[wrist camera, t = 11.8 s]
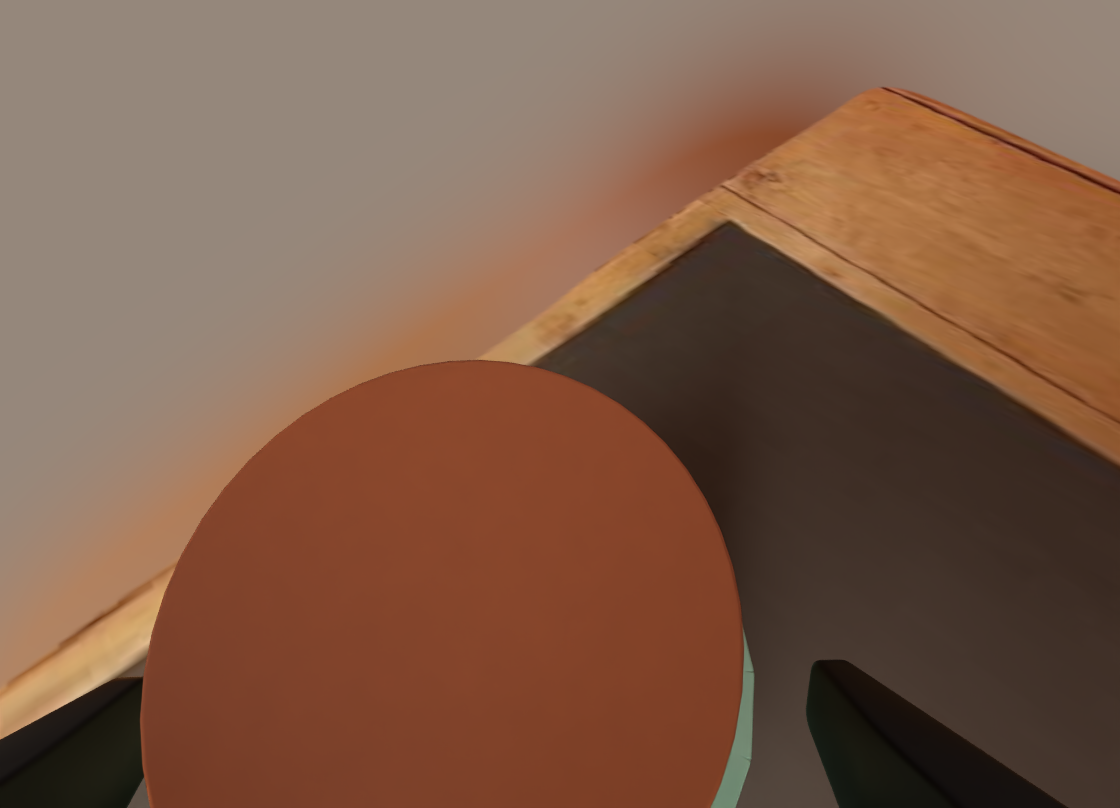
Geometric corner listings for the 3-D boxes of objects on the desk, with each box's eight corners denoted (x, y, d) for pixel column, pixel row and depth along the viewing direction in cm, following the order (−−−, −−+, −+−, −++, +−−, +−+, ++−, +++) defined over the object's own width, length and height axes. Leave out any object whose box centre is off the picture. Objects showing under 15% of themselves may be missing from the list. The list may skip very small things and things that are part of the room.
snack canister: (556, 837, 14) (540, 1281, 3) (385, 702, 16) (-3, 712, 5) (655, 629, 17) (827, 503, 6) (499, 532, 19) (409, 293, 8)
